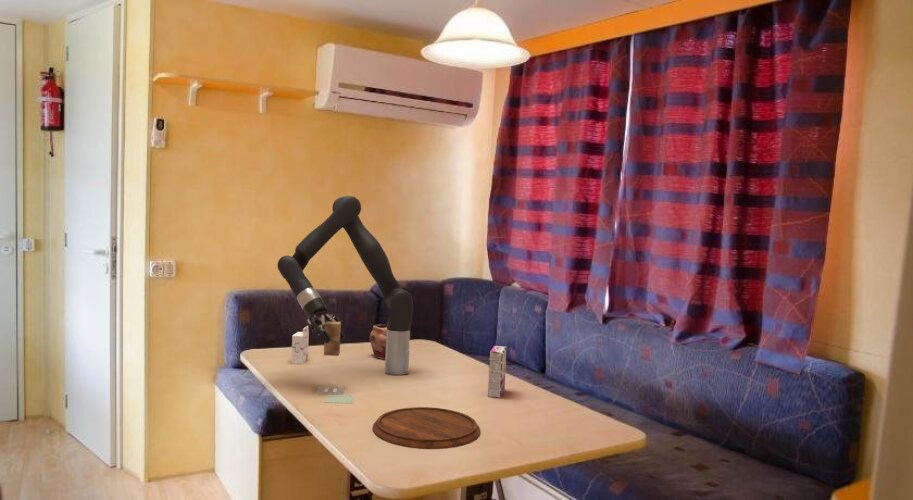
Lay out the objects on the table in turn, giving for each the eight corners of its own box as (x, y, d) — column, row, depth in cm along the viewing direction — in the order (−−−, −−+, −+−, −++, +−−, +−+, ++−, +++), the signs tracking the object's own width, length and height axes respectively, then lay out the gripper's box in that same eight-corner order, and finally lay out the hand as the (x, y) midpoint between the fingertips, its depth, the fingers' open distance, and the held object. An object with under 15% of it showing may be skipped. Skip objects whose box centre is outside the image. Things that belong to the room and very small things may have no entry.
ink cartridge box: (296, 359, 273) (297, 324, 272) (308, 359, 273) (309, 325, 272) (290, 363, 265) (292, 328, 264) (302, 364, 265) (304, 328, 264)
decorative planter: (359, 353, 291) (361, 322, 290) (383, 350, 298) (385, 320, 297) (381, 362, 274) (383, 330, 274) (406, 359, 281) (407, 328, 281)
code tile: (344, 388, 233) (344, 387, 233) (342, 395, 224) (342, 394, 224) (319, 387, 232) (319, 386, 232) (316, 394, 223) (316, 393, 223)
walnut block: (339, 352, 230) (341, 321, 229) (338, 355, 225) (339, 324, 224) (325, 352, 229) (326, 321, 229) (323, 355, 224) (325, 323, 224)
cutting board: (422, 407, 215) (423, 400, 215) (501, 431, 195) (502, 423, 195) (349, 429, 191) (350, 421, 191) (431, 459, 171) (431, 450, 170)
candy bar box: (491, 389, 241) (493, 345, 240) (504, 390, 240) (507, 346, 239) (486, 397, 230) (489, 351, 229) (500, 398, 229) (503, 352, 228)
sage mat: (353, 396, 223) (354, 395, 223) (352, 404, 214) (352, 403, 214) (327, 396, 222) (327, 394, 222) (324, 403, 213) (324, 402, 213)
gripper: (303, 298, 223) (328, 336, 218) (331, 294, 236) (355, 331, 231) (291, 311, 226) (315, 350, 221) (319, 307, 239) (343, 343, 234)
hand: (335, 340), depth 226 cm, fingers closed on walnut block, 7 cm apart
